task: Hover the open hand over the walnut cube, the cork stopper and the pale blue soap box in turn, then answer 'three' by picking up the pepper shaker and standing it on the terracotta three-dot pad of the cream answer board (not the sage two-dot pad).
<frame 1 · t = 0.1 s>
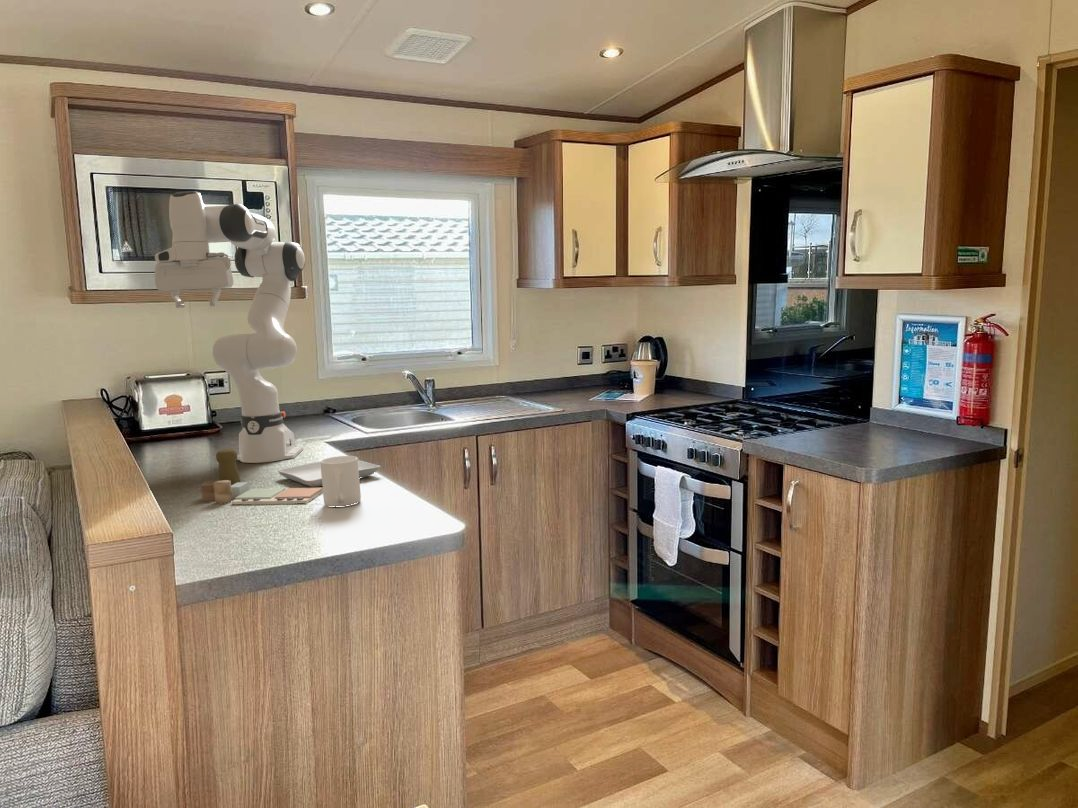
hand: (197, 306, 212), 48 cm above the counter, tool pointing down, fingers open, 8 cm apart
mug: (342, 506, 189), on the counter
answer board: (278, 498, 198), on the counter
salad plate: (329, 480, 218), on the counter
soap box: (239, 496, 203), on the counter
walnut cube: (213, 498, 202), on the counter
pepper shaker: (230, 491, 209), on the counter
cork stopper: (224, 501, 197), on the counter
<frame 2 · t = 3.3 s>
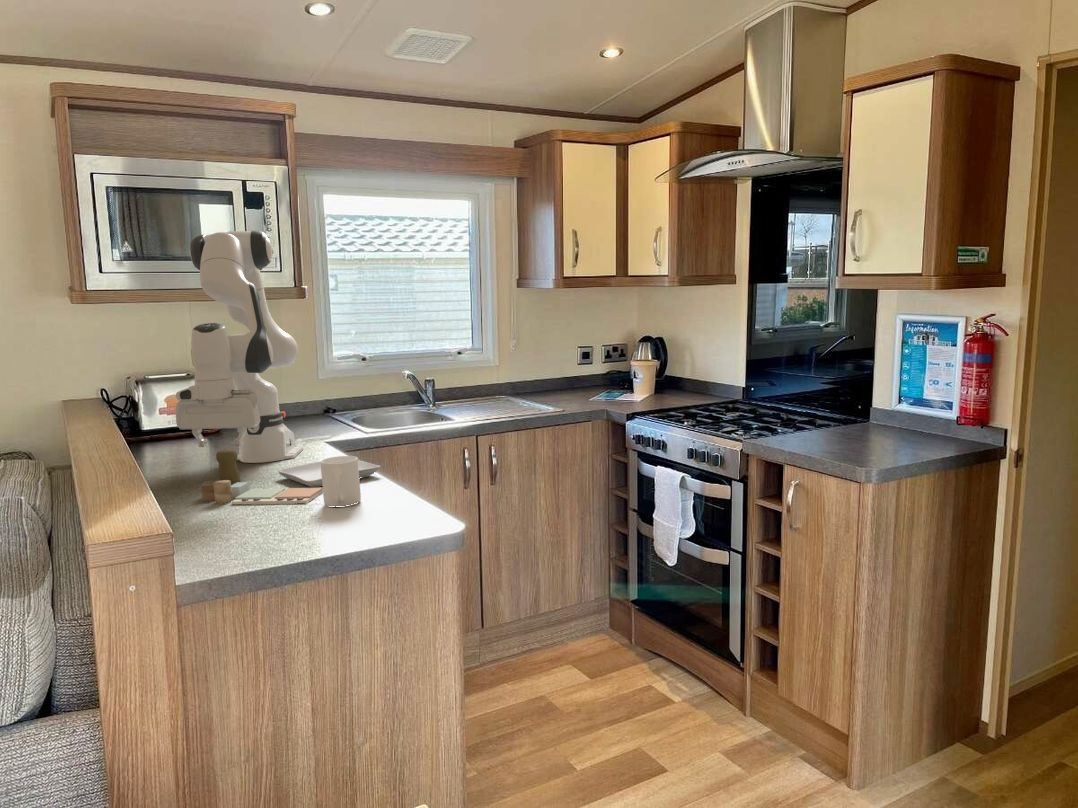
hand: (221, 446, 197), 14 cm above the counter, tool pointing down, fingers open, 8 cm apart
nothing on the counter moved.
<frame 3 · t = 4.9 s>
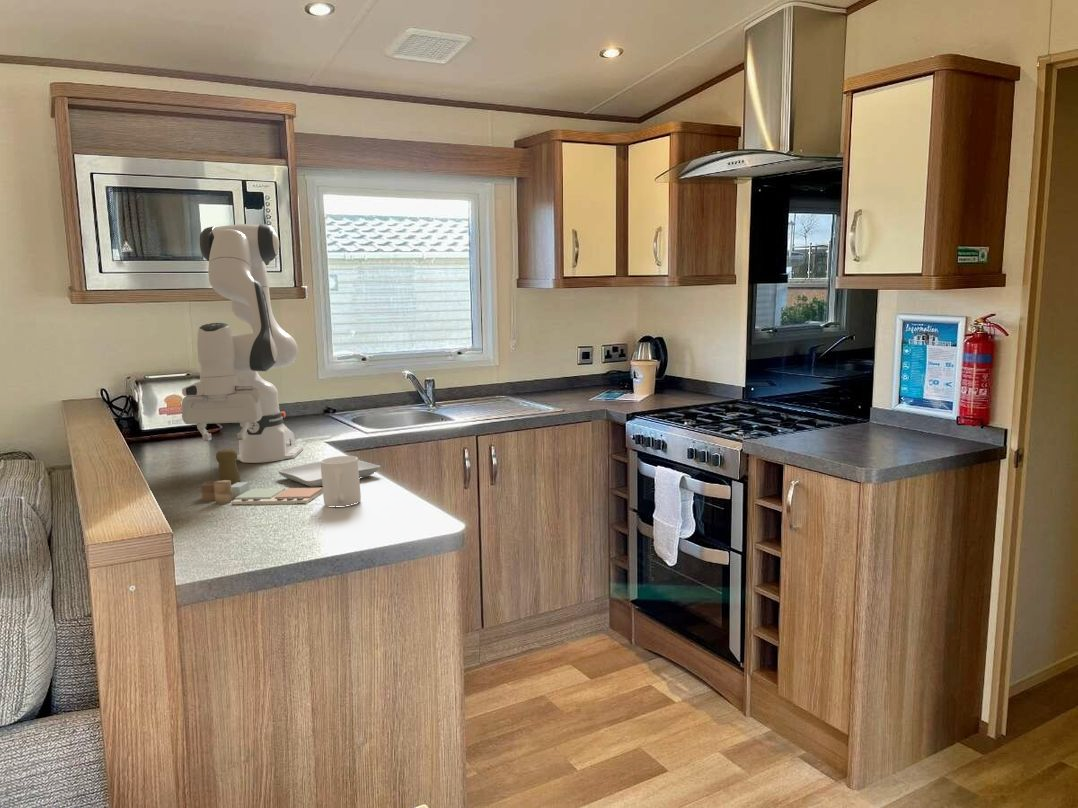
hand: (224, 440, 206), 14 cm above the counter, tool pointing down, fingers open, 8 cm apart
nothing on the counter moved.
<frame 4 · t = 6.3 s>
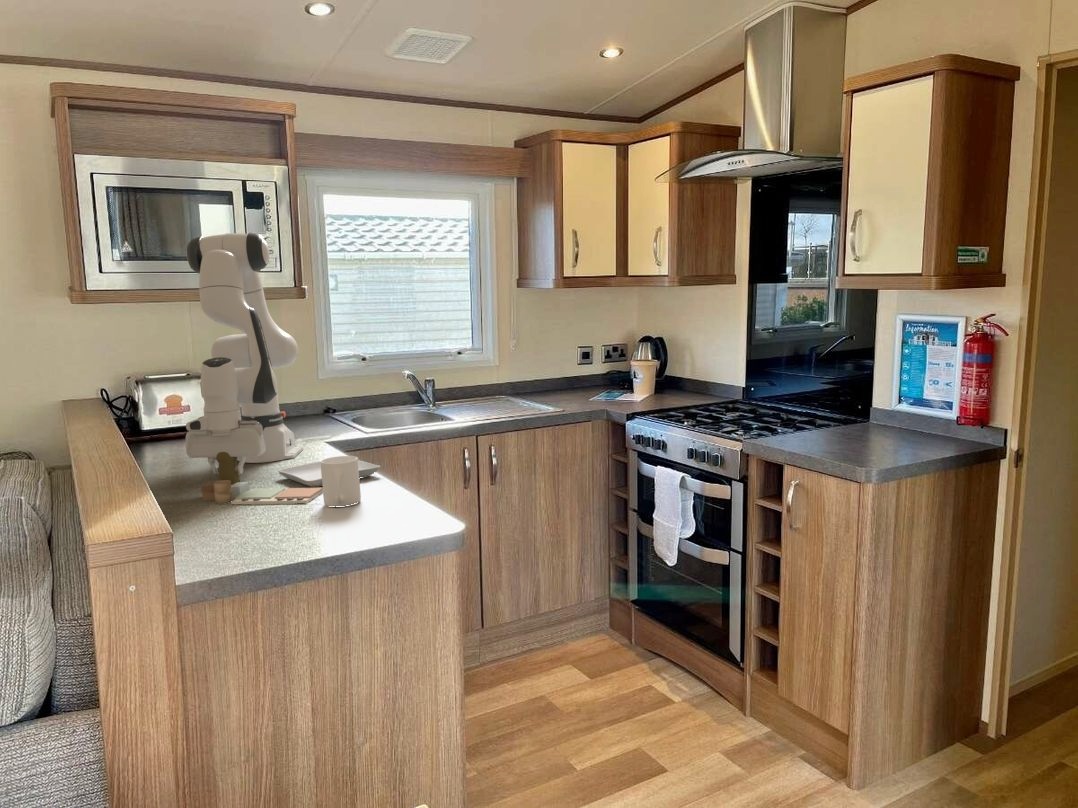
hand: (228, 473, 208), 5 cm above the counter, tool pointing down, fingers closed on pepper shaker, 4 cm apart
pepper shaker: (230, 491, 209), on the counter, touching gripper
everything else where it was.
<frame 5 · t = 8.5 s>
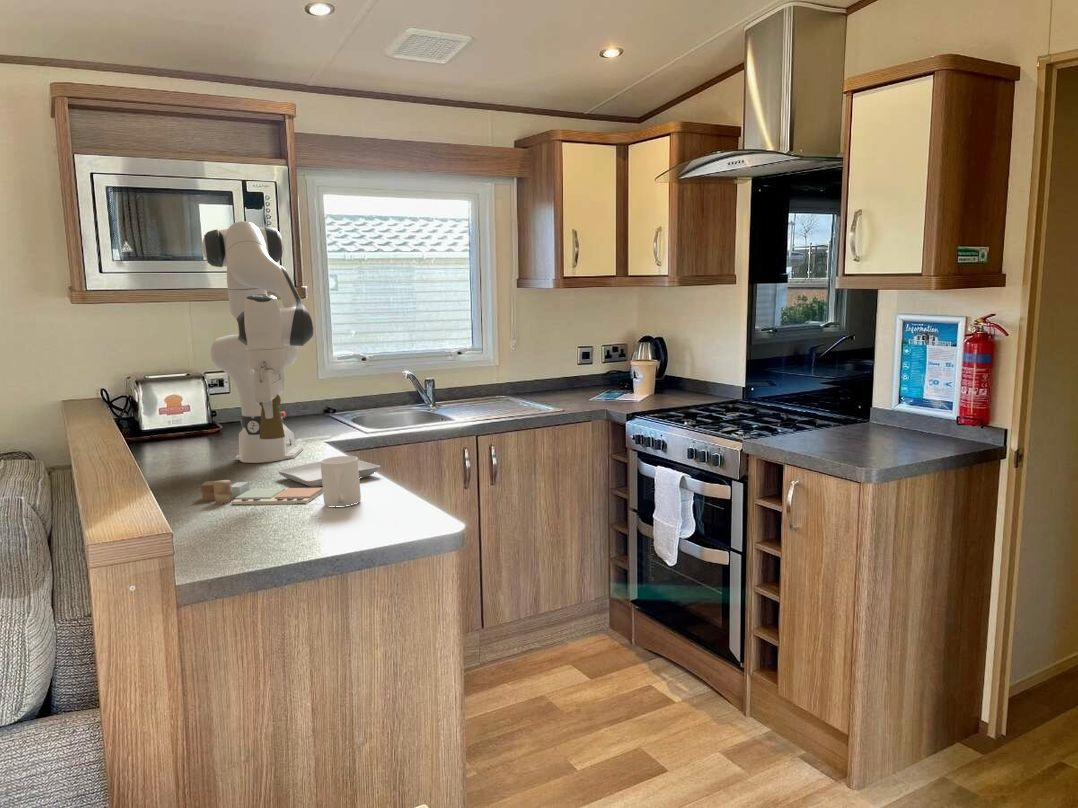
hand: (271, 416, 198), 20 cm above the counter, tool pointing down, fingers closed on pepper shaker, 4 cm apart
pepper shaker: (272, 438, 199), point 15 cm above the counter, touching gripper
everything else where it was.
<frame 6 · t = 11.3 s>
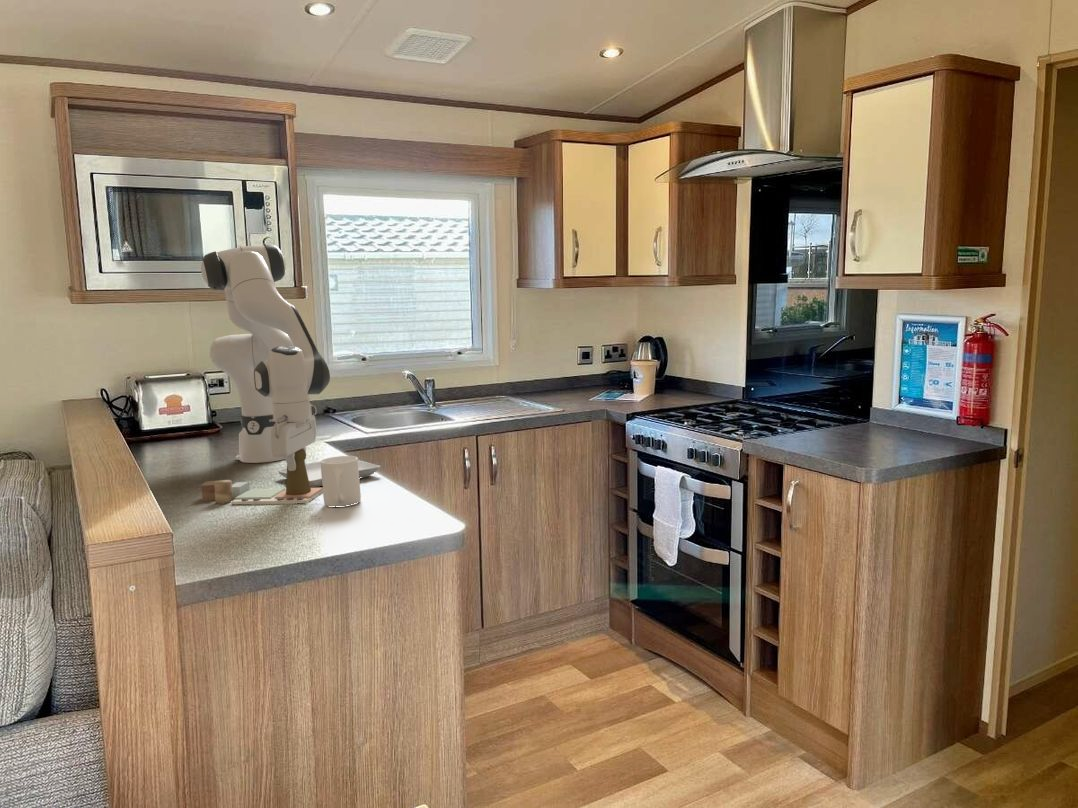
hand: (296, 467, 198), 7 cm above the counter, tool pointing down, fingers closed on pepper shaker, 4 cm apart
pepper shaker: (298, 492, 199), point 1 cm above the counter, touching answer board, gripper
everything else where it was.
when the fingers open (7 cm above the counter, at t = 11.5 s): pepper shaker stays where it is, resting on answer board.
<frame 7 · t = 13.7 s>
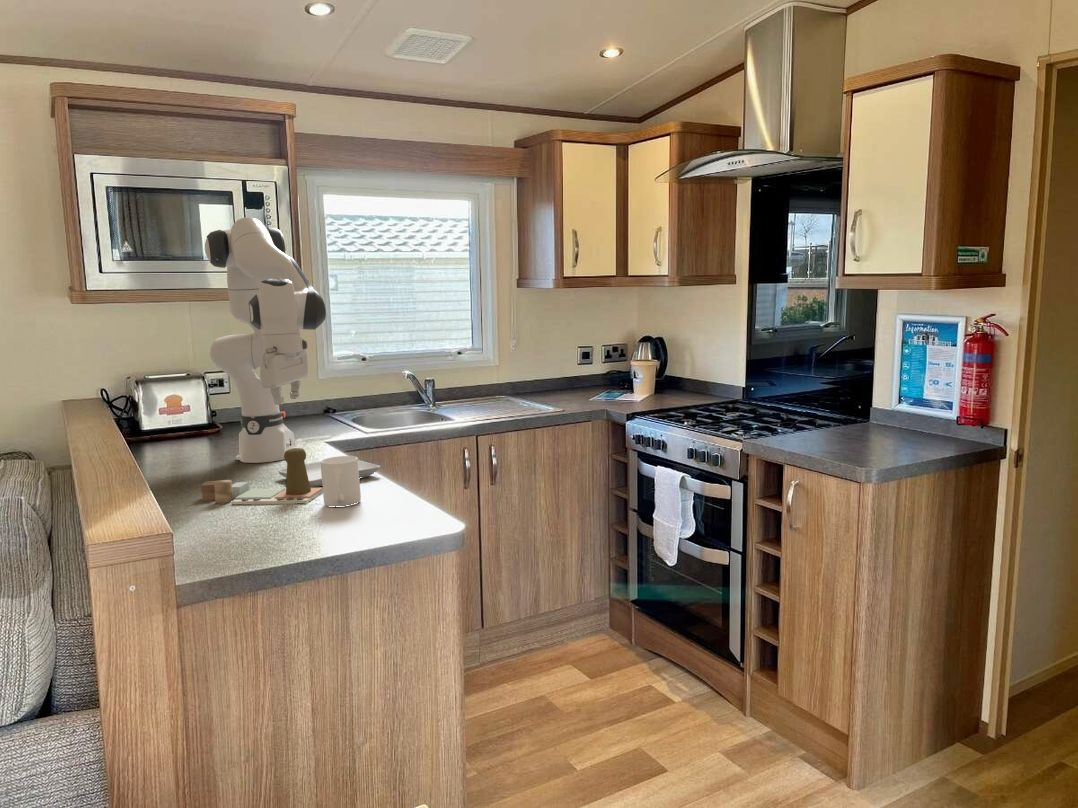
hand: (287, 401, 197), 24 cm above the counter, tool pointing down, fingers open, 8 cm apart
pepper shaker: (298, 492, 199), point 1 cm above the counter, touching answer board
everything else where it was.
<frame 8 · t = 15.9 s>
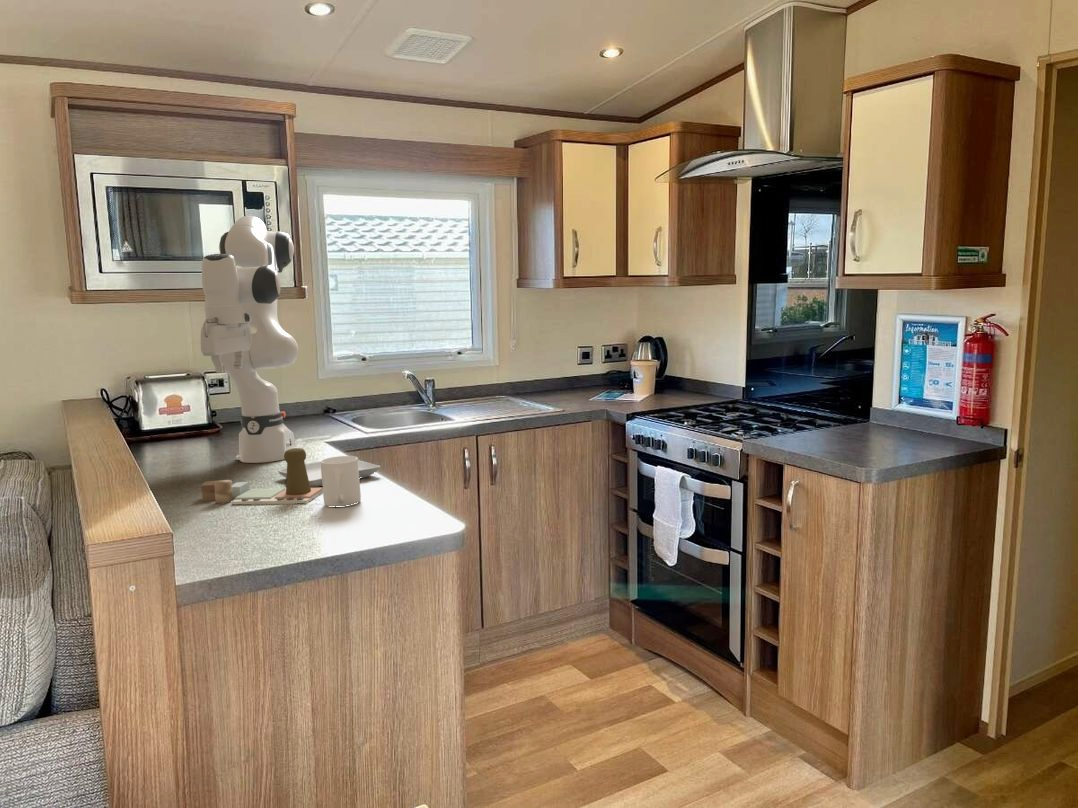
hand: (229, 370, 208), 31 cm above the counter, tool pointing down, fingers open, 8 cm apart
nothing on the counter moved.
at the end: pepper shaker inside the target area (0.2 cm from its centre), point 1.0 cm above the counter; pepper shaker tilted 0°; the gripper is holding nothing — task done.
